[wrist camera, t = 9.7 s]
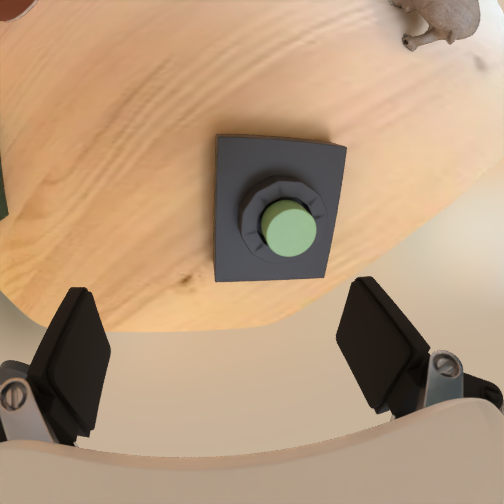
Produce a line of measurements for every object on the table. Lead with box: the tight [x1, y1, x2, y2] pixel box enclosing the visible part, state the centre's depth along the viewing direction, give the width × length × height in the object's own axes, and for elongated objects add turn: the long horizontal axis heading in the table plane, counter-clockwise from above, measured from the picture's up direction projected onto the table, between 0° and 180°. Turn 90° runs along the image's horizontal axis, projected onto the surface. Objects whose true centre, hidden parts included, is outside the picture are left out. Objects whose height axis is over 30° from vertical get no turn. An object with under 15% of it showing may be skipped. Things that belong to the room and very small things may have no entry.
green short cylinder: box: [261, 200, 316, 257], centre depth 20 cm, size 4×4×2 cm
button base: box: [214, 134, 347, 282], centre depth 23 cm, size 12×10×5 cm
